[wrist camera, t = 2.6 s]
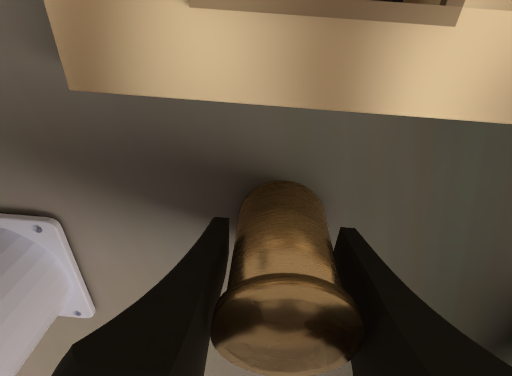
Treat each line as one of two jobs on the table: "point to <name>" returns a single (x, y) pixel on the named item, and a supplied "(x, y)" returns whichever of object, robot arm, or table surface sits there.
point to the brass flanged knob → (285, 289)
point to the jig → (296, 53)
